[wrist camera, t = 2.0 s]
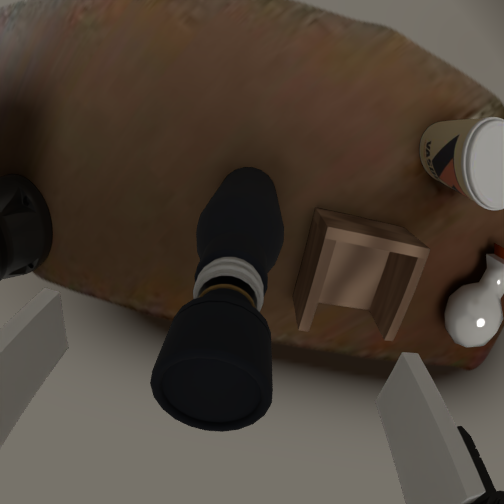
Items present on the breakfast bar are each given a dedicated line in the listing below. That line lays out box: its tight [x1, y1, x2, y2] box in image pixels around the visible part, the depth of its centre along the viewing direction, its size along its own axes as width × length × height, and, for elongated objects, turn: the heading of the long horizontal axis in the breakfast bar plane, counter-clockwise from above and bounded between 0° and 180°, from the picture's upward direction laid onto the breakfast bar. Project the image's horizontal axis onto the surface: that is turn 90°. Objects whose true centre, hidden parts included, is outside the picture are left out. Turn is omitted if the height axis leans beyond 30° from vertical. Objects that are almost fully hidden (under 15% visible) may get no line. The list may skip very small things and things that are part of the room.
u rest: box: [293, 207, 430, 341], centre depth 36 cm, size 12×12×8 cm
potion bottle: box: [444, 243, 504, 347], centre depth 37 cm, size 9×10×15 cm
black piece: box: [150, 167, 284, 431], centre depth 23 cm, size 6×6×30 cm
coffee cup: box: [419, 117, 504, 210], centre depth 28 cm, size 9×9×12 cm
